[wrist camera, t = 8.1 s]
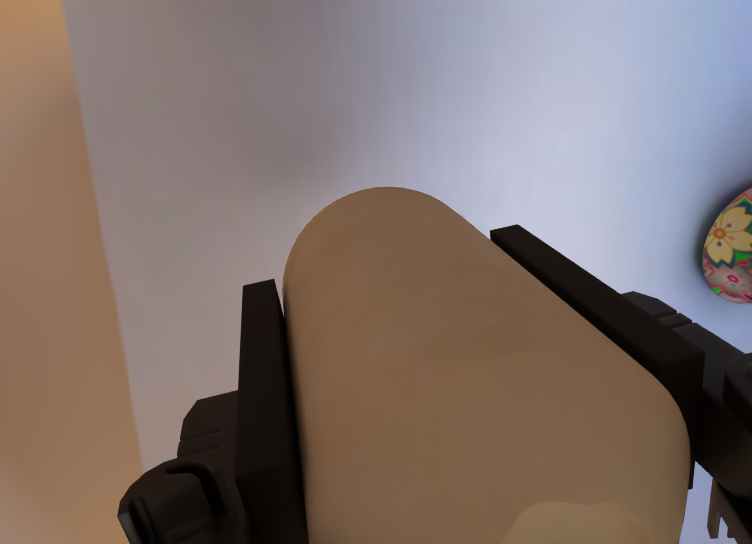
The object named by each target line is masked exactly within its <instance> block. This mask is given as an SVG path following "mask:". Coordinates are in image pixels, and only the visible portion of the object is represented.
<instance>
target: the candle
mask: <svg viewBox="0 0 752 544" xmlns="http://www.w3.org/2000/svg"><path fill="white" fill-rule="evenodd" d="M282 293H283V308H284V320H285V329H286V338H287V347H288V356H289V366H290V375H291V384H292V393H293V402H294V412H295V421H296V430H297V439H298V448H299V457H300V467H301V476H302V485H303V494H304V503H305V512H306V521H307V531H308V540H309V544H679V540H680V534H681V530H682V525H683V521H684V515H685V508H686V501H687V493H688V484H689V474H690V441H689V437H688V432H687V427H686V423H685V421H684V419H683V416H682V414H681V411H680V409H679V407H678V405H677V404H676V402H675V401H674V399H673V398H672V396H671V394H670V393H669V391H668V390H667V389H666V388H665V387H664V386H663V385H662V384H661V383H660V382H659V381H658V380H657V379H656V378H655V377H654V376H653V375H652V374H651V373H649V372H648V371H647V370H646V369H645V368H643V367H642V366H641V365H640V364H639V363H638V362H636V361H635V360H634V359H633V358H632V357H630V356H629V355H628V354H627V353H626V352H624V351H623V350H622V349H621V348H620V347H618V346H617V345H616V344H615V343H613V342H612V341H611V340H610V339H609V338H607V337H606V336H605V335H604V334H603V333H601V332H600V331H599V330H598V329H597V328H595V327H594V326H593V325H592V324H591V323H589V322H588V321H587V320H586V319H585V318H583V317H582V316H581V315H580V314H579V313H577V312H576V311H575V310H574V309H573V308H571V307H570V306H569V305H568V304H567V303H565V302H564V301H563V300H562V299H561V298H559V297H558V296H557V295H556V294H555V293H553V292H552V291H551V290H550V289H548V288H547V287H546V286H545V285H544V284H542V283H541V282H540V281H539V280H538V279H536V278H535V277H534V276H533V275H532V274H530V273H529V272H528V271H527V270H526V269H524V268H523V267H522V266H521V265H520V264H518V263H517V262H516V261H515V260H514V259H512V258H511V257H510V256H509V255H508V254H506V253H505V252H504V251H503V250H502V249H500V248H499V247H498V246H497V245H495V244H494V243H493V242H492V241H491V240H489V239H488V238H487V237H486V236H485V235H483V234H482V233H481V232H480V231H479V230H477V229H476V228H475V227H474V226H473V225H471V224H470V223H469V222H468V221H467V220H465V219H464V218H463V217H462V216H460V215H459V214H458V213H456V212H455V211H454V210H452V209H451V208H450V207H448V206H447V205H446V204H444V203H443V202H441V201H439V200H437V199H436V198H434V197H432V196H430V195H427V194H424V193H421V192H419V191H415V190H410V189H405V188H399V187H376V188H370V189H365V190H361V191H358V192H355V193H352V194H349V195H347V196H344V197H342V198H340V199H338V200H336V201H335V202H333V203H331V204H330V205H328V206H327V207H325V208H324V209H323V210H322V211H320V212H319V213H318V214H317V215H316V216H314V218H313V219H312V220H311V221H310V222H309V223H308V224H307V225H306V226H305V228H304V229H303V230H302V232H301V233H300V235H299V236H298V238H297V239H296V241H295V243H294V245H293V247H292V249H291V252H290V255H289V257H288V260H287V263H286V267H285V271H284V276H283V288H282Z"/></svg>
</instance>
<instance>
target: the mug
mask: <svg viewBox="0 0 752 544" xmlns="http://www.w3.org/2000/svg"><path fill="white" fill-rule="evenodd" d="M702 263H703V272H704V276H705V279H706V281H707V283H708V285H709V286H710V288H711V289H712V290H713V291H714V292H715V293H716V294H717V295H718V296H720V297H721V298H723V299H725V300H728V301H731V302H735V303H752V188H750V189H748V190H746V191H745V192H743V193H742V194H740V195H739V196H738V197H736V198H735V199H734V200H733V201H732V202H731V203H730V204H729V205H728V206H727V207H726V208H725V209H724V210H723V211H722V212H721V214H720V215H719V216H718V218H717V219H716V221H715V222H714V224H713V226H712V227H711V229H710V231H709V234H708V236H707V239H706V242H705V245H704V250H703V258H702Z"/></svg>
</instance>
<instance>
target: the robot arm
mask: <svg viewBox="0 0 752 544" xmlns="http://www.w3.org/2000/svg"><path fill="white" fill-rule="evenodd" d="M490 238H491V241H492V242H493V243H494V244H495V245H497V246H498V247H499V248H500V249H502V250H503V251H504V252H505V253H506V254H508V255H509V256H510V257H511V258H512V259H514V260H515V261H516V262H517V263H518V264H520V265H521V266H522V267H523V268H524V269H526V270H527V271H528V272H529V273H530V274H532V275H533V276H534V277H535V278H536V279H538V280H539V281H540V282H541V283H542V284H544V285H545V286H546V287H547V288H548V289H550V290H551V291H552V292H553V293H555V294H556V295H557V296H558V297H559V298H561V299H562V300H563V301H564V302H565V303H567V304H568V305H569V306H570V307H571V308H573V309H574V310H575V311H576V312H577V313H579V314H580V315H581V316H582V317H583V318H585V319H586V320H587V321H588V322H589V323H591V324H592V325H593V326H594V327H595V328H597V329H598V330H599V331H600V332H601V333H603V334H604V335H605V336H606V337H607V338H609V339H610V340H611V341H612V342H613V343H615V344H616V345H617V346H618V347H620V348H621V349H622V350H623V351H624V352H626V353H627V354H628V355H629V356H630V357H632V358H633V359H634V360H635V361H636V362H638V363H639V364H640V365H641V366H642V367H643V368H645V369H646V370H647V371H648V372H649V373H651V374H652V375H653V376H654V377H655V378H656V379H657V380H658V381H659V382H660V383H661V384H662V385H663V386H664V387H665V388H666V389H667V390H668V391H669V393H670V394H671V396H672V398H673V399H674V401H675V402H676V404H677V405H678V407H679V409H680V411H681V414H682V416H683V419H684V421H685V423H686V427H687V432H688V437H689V441H690V474H689V484H688V490H689V489H692V488H693V478H694V467H695V461H696V462H697V463H698V464H699V465H700V466H702V467H703V468H704V469H705V470H706V471H707V472H708V473H709V474H710V475H711V476H712V477H713V480H712V488H711V497H710V506H709V514H708V523H707V528H708V532H709V535H710V539H714V538H718V532H719V524H720V517H722V518H723V520H724V522H725V523H726V525H727V527H728V532H727V536H728V538H735V540H736V542H737V543H738V544H752V353H748V354H745V353H743V352H741V351H740V350H738V349H737V348H735V347H733V346H732V345H730V344H729V343H727V342H726V341H724V340H722V339H721V338H719V337H718V336H716V335H714V334H713V333H711V332H710V331H708V330H706V329H705V328H703V327H702V326H700V325H699V324H697V323H692V320H691V319H689V318H687V317H686V316H684V315H683V314H681V313H677V311H676V310H675V309H673V308H672V307H670V306H668V305H667V304H665V303H664V302H662V301H660V300H659V299H656V298H653V297H650V296H647V295H644V294H641V293H637V292H634V291H632V292H628V293H624V294H619V293H618V292H616V291H615V290H613V289H612V288H611V287H609V286H608V285H606V284H605V283H603V282H602V281H600V280H599V279H597V278H596V277H594V276H593V275H591V274H590V273H588V272H587V271H586V270H584V269H583V268H581V267H580V266H578V265H577V264H575V263H574V262H572V261H571V260H569V259H568V258H566V257H565V256H564V255H562V254H561V253H559V252H558V251H556V250H555V249H553V248H552V247H550V246H549V245H547V244H546V243H544V242H543V241H542V240H540V239H539V238H537V237H536V236H534V235H533V234H531V233H530V232H528V231H527V230H525V229H524V228H522V227H521V226H520V225H518V224H517V225H512V226H508V227H503V228H499V229H495V230H490ZM180 441H181V442H179V446H178V451H177V457H178V458H176V459H173V460H169V461H166V462H163V463H162V464H160V465H158V466H156V467H155V468H153V469H151V470H149V471H147V472H146V473H145V474H143V475H142V476H141V477H140V478H139V479H138V480H137V481H135V482H134V483H133V484H132V485H131V486H130V487H129V489H128V490H127V492H126V493H125V495H124V497H123V498H122V499H121V501H120V505H119V510H118V516H117V517H118V519H119V521H120V523H121V526H122V528H123V530H124V532H125V534H126V536H127V538H128V541H129V543H130V544H309V540H308V531H307V521H306V512H305V503H304V494H303V485H302V476H301V467H300V457H299V448H298V439H297V430H296V421H295V412H294V402H293V393H292V384H291V375H290V366H289V356H288V347H287V338H286V329H285V320H284V316H283V312H282V308H281V304H280V300H279V296H278V292H277V288H276V284H275V280H274V279H271V280H266V281H262V282H257V283H253V284H248V285H244V286H243V296H242V318H241V339H240V360H239V382H238V390H236V391H232V392H228V393H224V394H220V395H216V396H212V397H208V398H204V399H200V400H197V401H196V403H195V404H194V406H193V407H192V408H191V410H190V411H189V412H188V414H187V415H186V417H185V418H184V420H183V425H182V430H181V435H180Z"/></svg>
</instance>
